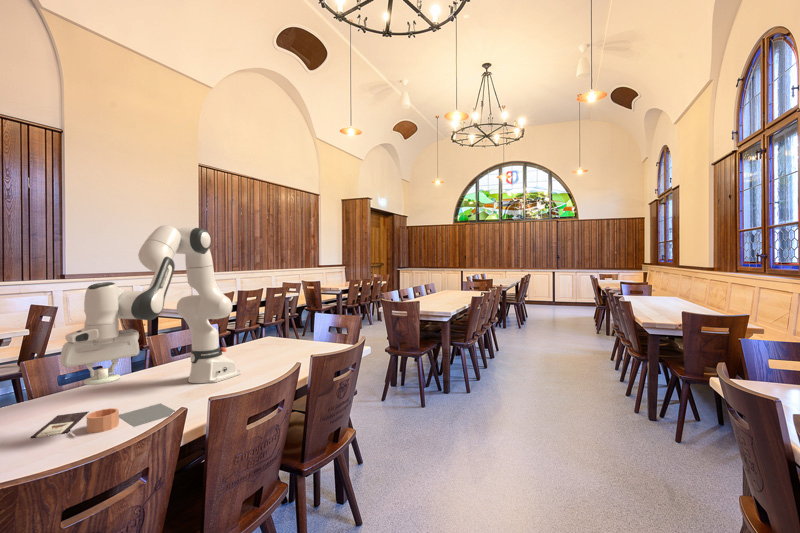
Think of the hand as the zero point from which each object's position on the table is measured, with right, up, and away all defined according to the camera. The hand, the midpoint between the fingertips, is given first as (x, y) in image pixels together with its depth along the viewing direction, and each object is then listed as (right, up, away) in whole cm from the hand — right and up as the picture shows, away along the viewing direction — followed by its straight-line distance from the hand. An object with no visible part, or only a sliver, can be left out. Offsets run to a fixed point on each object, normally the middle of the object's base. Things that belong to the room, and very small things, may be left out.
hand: (102, 374), depth 123 cm
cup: (0, -18, 0) cm, 18 cm away
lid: (0, -2, 0) cm, 2 cm away
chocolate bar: (-16, -18, +4) cm, 25 cm away
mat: (+8, -17, +11) cm, 22 cm away
